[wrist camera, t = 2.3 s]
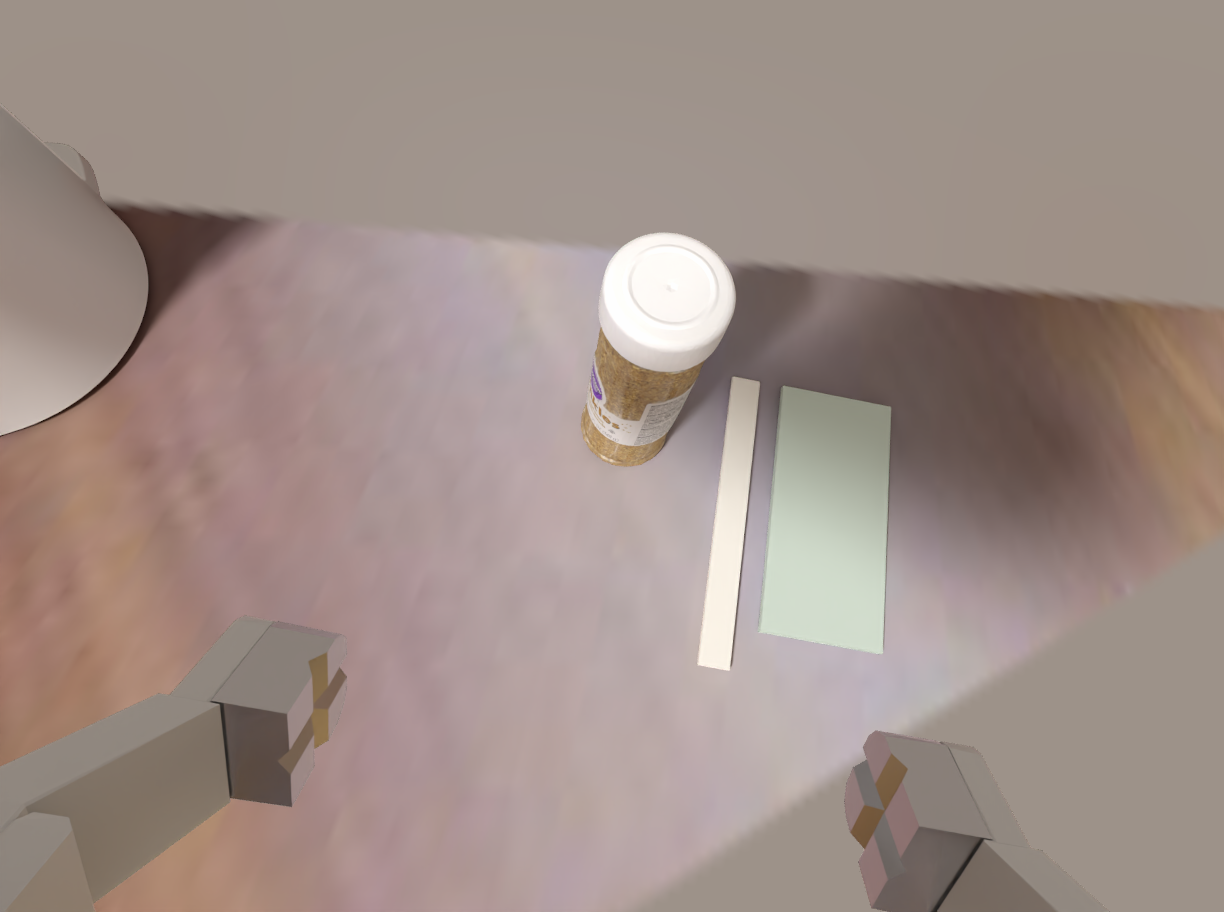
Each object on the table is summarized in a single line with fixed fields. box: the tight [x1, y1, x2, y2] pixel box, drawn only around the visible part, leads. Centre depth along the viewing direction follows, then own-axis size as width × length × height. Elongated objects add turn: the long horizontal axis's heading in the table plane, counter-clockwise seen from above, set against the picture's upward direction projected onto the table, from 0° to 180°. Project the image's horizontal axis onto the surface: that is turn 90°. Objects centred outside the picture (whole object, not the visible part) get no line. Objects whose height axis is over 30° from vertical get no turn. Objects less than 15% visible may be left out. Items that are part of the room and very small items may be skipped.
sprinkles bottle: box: [581, 233, 736, 466], centre depth 28 cm, size 5×5×14 cm
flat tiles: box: [697, 376, 891, 671], centre depth 34 cm, size 9×15×1 cm, turn 170°
